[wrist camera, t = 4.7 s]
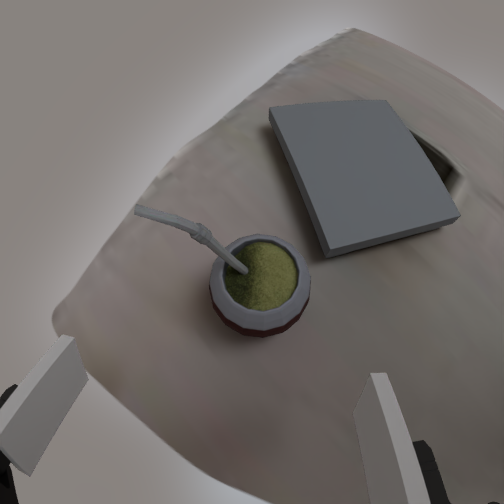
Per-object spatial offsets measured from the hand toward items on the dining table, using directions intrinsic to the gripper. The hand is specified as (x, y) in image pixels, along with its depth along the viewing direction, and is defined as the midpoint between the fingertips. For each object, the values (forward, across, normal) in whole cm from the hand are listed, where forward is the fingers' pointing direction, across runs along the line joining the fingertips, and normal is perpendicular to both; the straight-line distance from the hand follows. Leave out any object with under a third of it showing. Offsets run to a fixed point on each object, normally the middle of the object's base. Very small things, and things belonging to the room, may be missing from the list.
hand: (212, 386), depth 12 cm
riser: (+24, +12, +7) cm, 28 cm away
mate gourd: (+14, +1, -4) cm, 14 cm away
